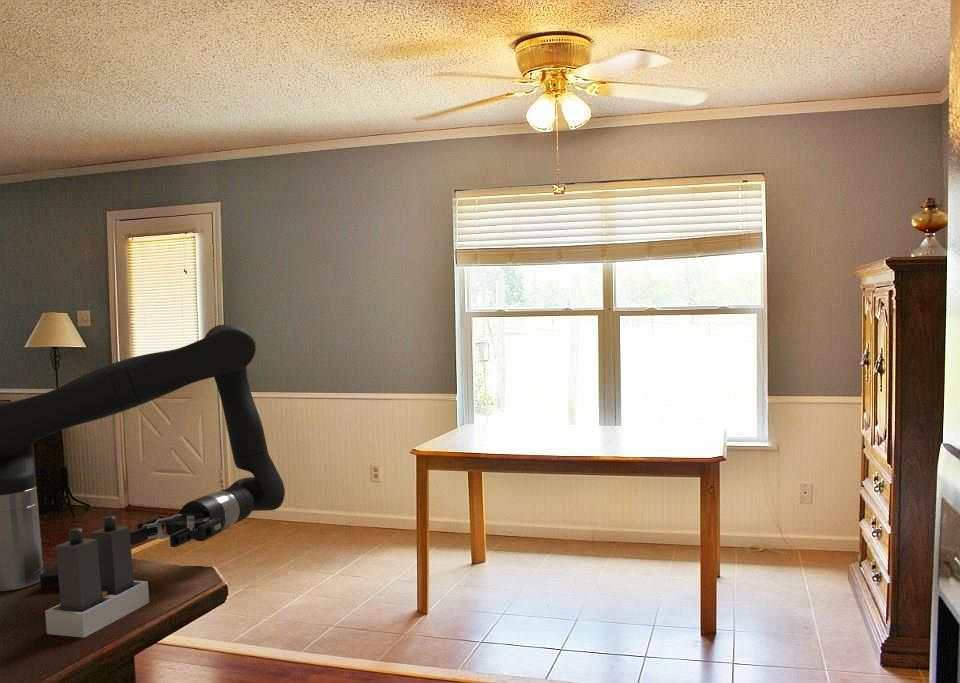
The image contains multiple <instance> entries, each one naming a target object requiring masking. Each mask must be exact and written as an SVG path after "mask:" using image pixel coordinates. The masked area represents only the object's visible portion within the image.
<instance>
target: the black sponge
mask: <svg viewBox="0 0 960 683" xmlns="http://www.w3.org/2000/svg"><path fill="white" fill-rule="evenodd" d="M39 576H40V582H39V583H40V584H39V585H40V587H41V589H42V590H43V591H46V590H52V589H58V588H59V579H58V566H57V564H56V565H54V566H53V567H51V568H49V569H48V570H46V571H45V572H44V571H43V573H42V574H41V575H39Z"/></svg>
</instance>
